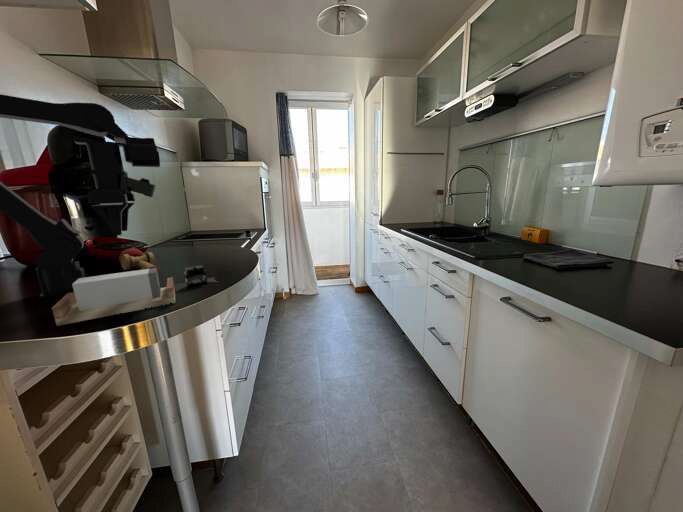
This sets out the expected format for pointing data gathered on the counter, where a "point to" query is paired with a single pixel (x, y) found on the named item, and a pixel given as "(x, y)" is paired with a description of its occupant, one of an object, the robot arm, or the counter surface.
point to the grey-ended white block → (116, 288)
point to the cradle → (70, 313)
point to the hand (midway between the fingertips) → (121, 232)
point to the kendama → (137, 260)
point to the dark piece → (194, 272)
